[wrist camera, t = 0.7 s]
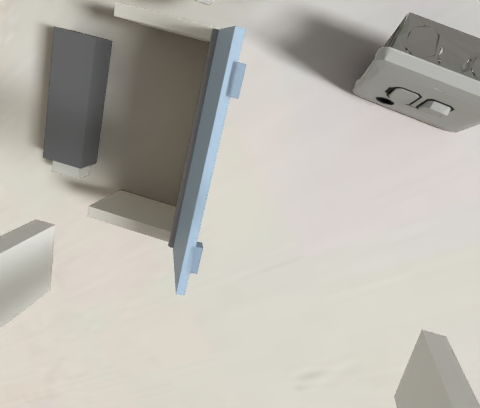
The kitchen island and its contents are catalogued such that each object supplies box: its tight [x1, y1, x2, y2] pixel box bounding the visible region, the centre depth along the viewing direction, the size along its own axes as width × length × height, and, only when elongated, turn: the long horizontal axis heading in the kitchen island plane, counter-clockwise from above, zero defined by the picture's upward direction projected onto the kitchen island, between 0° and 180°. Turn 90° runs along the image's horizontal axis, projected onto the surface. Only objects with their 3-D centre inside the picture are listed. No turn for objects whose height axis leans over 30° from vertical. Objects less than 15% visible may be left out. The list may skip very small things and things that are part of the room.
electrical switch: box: [352, 13, 480, 132], centre depth 30 cm, size 9×5×9 cm, turn 69°
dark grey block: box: [43, 27, 112, 179], centre depth 39 cm, size 13×4×3 cm, turn 166°
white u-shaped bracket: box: [87, 2, 223, 242], centre depth 36 cm, size 18×9×6 cm, turn 166°
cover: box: [168, 26, 246, 295], centre depth 29 cm, size 18×8×2 cm
